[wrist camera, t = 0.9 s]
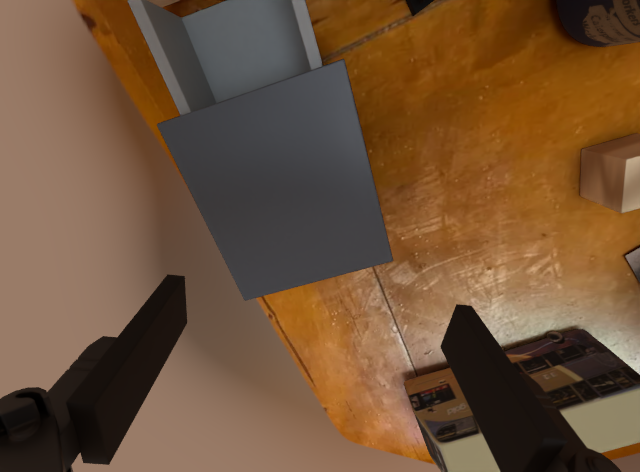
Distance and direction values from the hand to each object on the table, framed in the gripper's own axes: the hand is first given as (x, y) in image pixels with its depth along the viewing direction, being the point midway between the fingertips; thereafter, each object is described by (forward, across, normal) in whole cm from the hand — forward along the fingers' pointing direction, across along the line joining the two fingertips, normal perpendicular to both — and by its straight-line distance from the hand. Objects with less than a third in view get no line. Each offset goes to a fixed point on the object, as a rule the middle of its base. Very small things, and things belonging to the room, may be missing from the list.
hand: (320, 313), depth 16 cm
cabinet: (+19, -3, +2) cm, 19 cm away
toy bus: (+19, +27, -22) cm, 40 cm away
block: (+19, +28, +7) cm, 35 cm away
